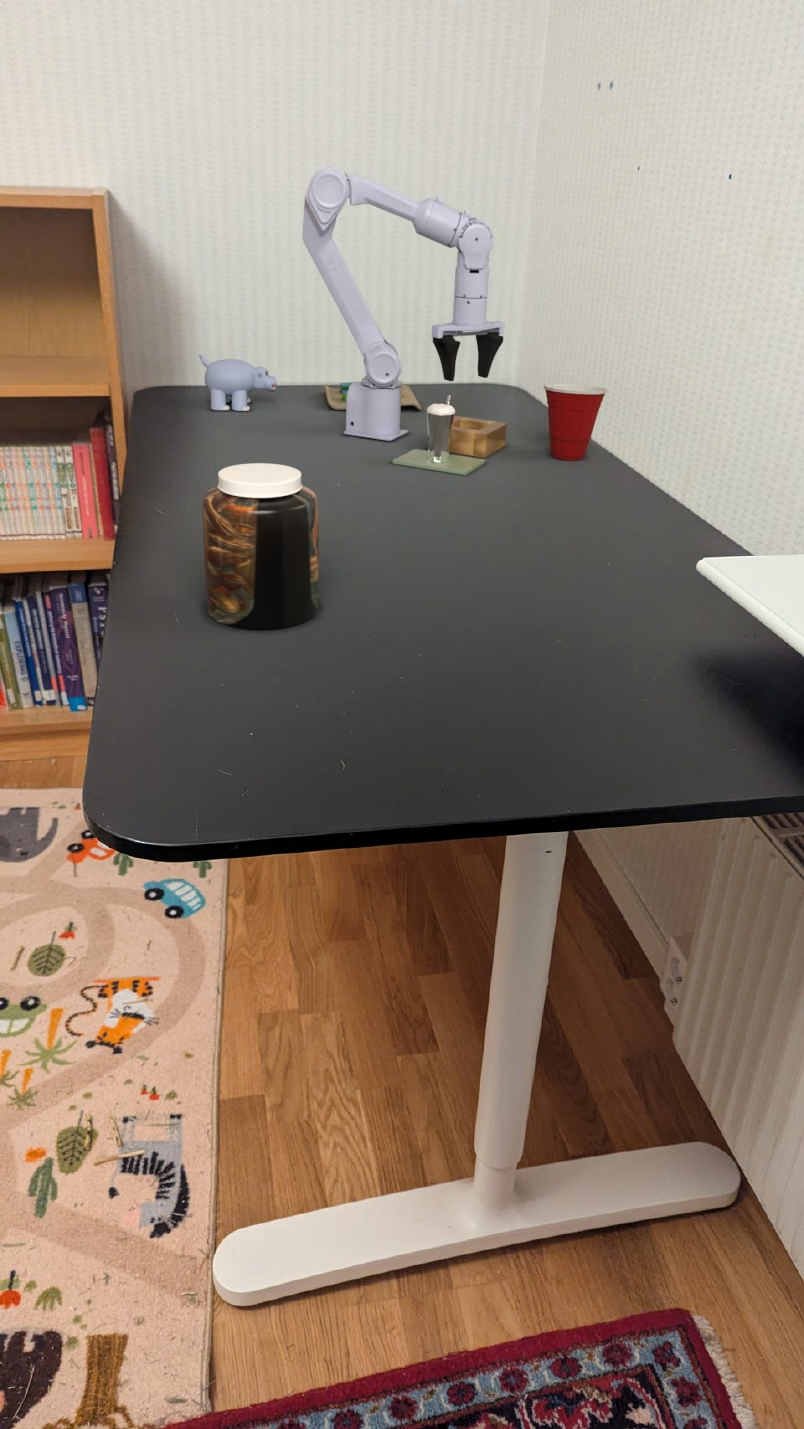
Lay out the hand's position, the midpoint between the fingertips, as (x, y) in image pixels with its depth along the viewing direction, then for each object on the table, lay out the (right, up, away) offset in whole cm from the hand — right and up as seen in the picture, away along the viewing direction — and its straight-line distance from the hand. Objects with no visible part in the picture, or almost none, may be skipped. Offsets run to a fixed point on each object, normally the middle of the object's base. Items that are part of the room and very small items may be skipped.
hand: (465, 378), depth 181 cm
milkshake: (-5, -18, -12) cm, 22 cm away
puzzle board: (-18, +5, +29) cm, 34 cm away
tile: (-5, -18, -12) cm, 22 cm away
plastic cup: (+17, -15, -4) cm, 23 cm away
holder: (0, -13, -2) cm, 13 cm away
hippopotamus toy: (-44, +1, +21) cm, 48 cm away
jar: (-27, -49, -70) cm, 90 cm away
